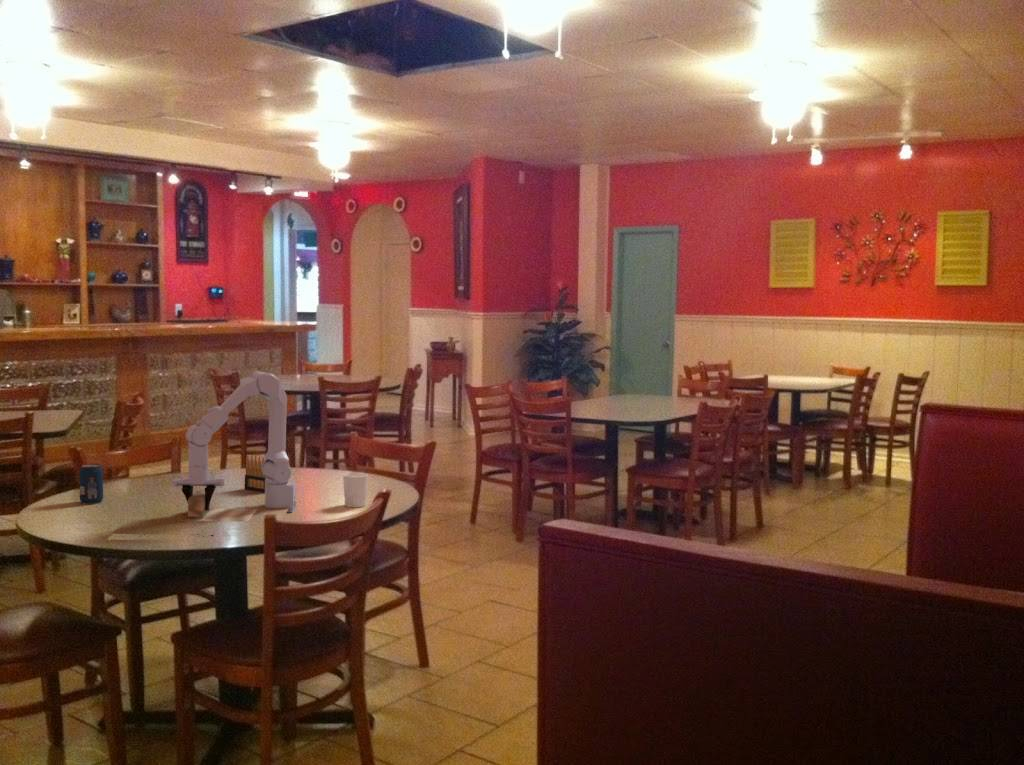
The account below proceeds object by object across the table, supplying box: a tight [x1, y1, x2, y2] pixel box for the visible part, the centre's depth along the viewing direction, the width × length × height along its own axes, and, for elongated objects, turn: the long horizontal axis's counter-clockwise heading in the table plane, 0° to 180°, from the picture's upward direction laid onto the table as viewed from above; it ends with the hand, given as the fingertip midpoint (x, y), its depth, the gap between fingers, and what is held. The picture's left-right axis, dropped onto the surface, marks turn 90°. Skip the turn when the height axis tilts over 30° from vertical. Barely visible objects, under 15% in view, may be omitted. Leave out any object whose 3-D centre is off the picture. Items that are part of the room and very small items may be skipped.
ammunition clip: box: [244, 454, 265, 494], centre depth 345 cm, size 11×2×12 cm, turn 60°
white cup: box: [342, 472, 369, 508], centre depth 326 cm, size 8×8×10 cm
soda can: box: [78, 463, 104, 505], centre depth 323 cm, size 7×7×12 cm
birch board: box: [185, 508, 258, 522], centre depth 304 cm, size 18×16×2 cm
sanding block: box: [187, 490, 211, 519], centre depth 303 cm, size 4×12×6 cm, turn 6°
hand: (199, 509), depth 303 cm, fingers closed on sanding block, 4 cm apart
